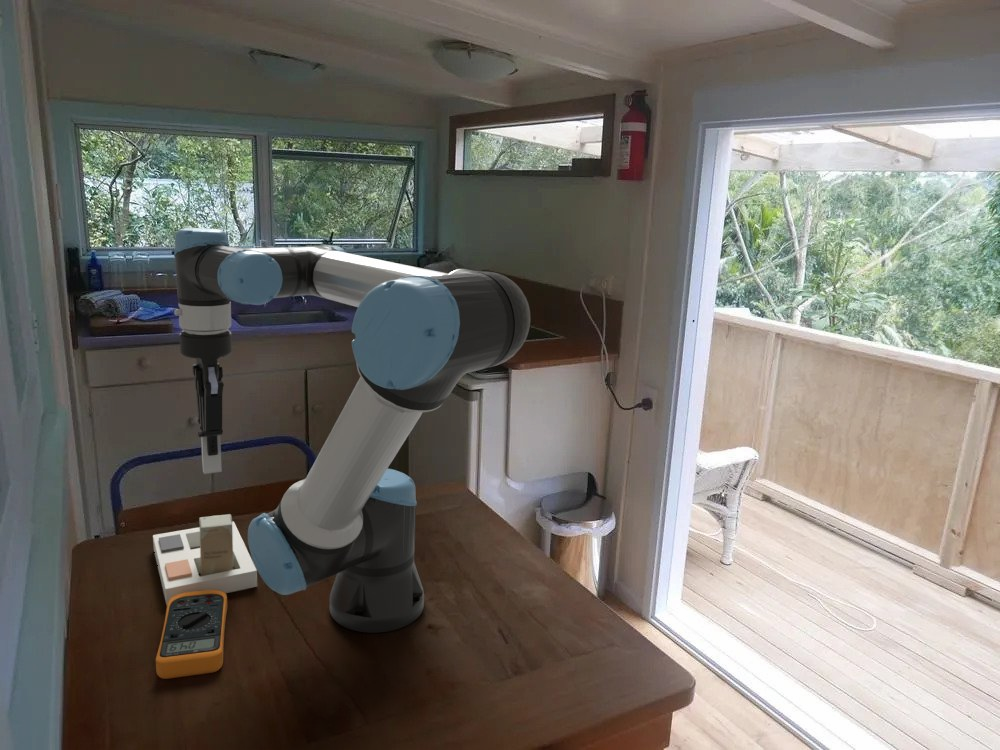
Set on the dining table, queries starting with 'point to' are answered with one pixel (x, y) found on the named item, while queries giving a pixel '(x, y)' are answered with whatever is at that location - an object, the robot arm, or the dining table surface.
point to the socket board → (199, 564)
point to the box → (216, 544)
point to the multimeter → (192, 634)
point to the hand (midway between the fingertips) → (212, 471)
